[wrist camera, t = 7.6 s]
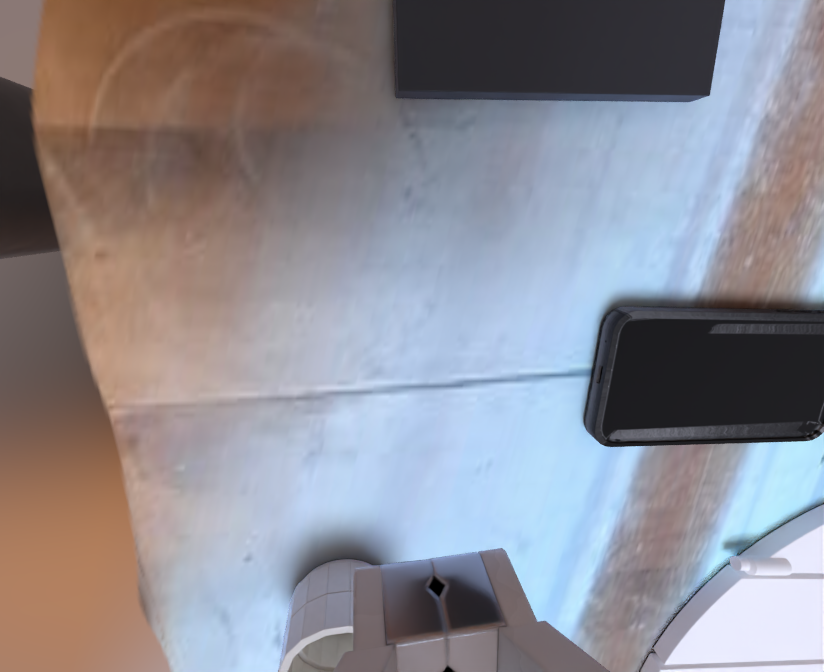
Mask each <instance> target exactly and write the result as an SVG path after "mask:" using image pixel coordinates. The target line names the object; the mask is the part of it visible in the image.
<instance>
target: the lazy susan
mask: <svg viewBox="0 0 824 672" xmlns="http://www.w3.org/2000/svg"><path fill="white" fill-rule="evenodd" d="M730 564H731V565H727V566H725V567H724V568H723V569H722V570H721V571H720V572H719V573H717V574H716V575H715V576H714V577H713V578H712V579H711V580H710V581H709V582H708V583H707V584H706V585H705V586H704V587H703V588H702V589H700V590H699V591H698V593H697V594H696V595H695V596H694V597H693V598H692V599H691V600H690V601H689V602H688V603H687V604H686V605H685V607H684V608H683V609H682V610H681V611H680V612H679V614H678V615H677V616H676V617H675V618H674V620H673V621H672V622H671V624H670V625H669V626H668V627H667V629H666V630H665V632H664V633H663V634H662V636H661V637H660V639H659V640H658V642H657V643H656V645H655V646H654V648H653V649H654V651H655V652H656V653H650V654H649V656H648V658H647V660H646V662H645V663H644V665H643V667H642V669H641V671H640V672H824V504H823V505H821V506H818V507H816V508H814V509H812V510H810V511H808V512H806V513H804V514H802V515H801V516H799V517H797V518H795V519H793V520H791V521H790V522H788V523H786V524H785V525H783V526H781V527H779V528H778V529H776V530H775V531H773V532H772V533H770V534H768V535H767V536H765V537H764V538H762V539H761V540H759V541H758V542H757V543H755V544H754V545H752V546H751V547H750V548H748V549H747V550H746V551H744V552H743V553H742V554H740V555H739V556H732V557H730Z"/></svg>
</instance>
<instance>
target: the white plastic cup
mask: <svg viewBox="0 0 824 672" xmlns="http://www.w3.org/2000/svg"><path fill="white" fill-rule="evenodd" d="M367 566H373V565H371V564H369V563H366V562H364V561H360V560H354V559H340V560H334V561H330V562H327V563H325V564H322V565H320V566H318V567H317V568H315V569H314V570H312V571H311V572H310V573H309V574H307V576H306V577H305V578H304V579H303V580H302V581H301V582H300V583H299V584H298V585H297V586H296V588H295V590H294V593H293V595H292V598H291V601H290V604H289V610H288V616H287V622H286V628H285V635H284V640H283V646H282V652H281V658H280V664H279V670H278V672H333V671H334V669H335V667H336V666H337V664H338V662H339V661H340V659H341V657H342V656H343V654H344V652H348V651H353V575H354V569H355V568H357V567H367ZM381 580H382V576H381ZM382 593H383V590H382ZM383 605H384V604H383Z"/></svg>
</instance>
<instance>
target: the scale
mask: <svg viewBox="0 0 824 672" xmlns="http://www.w3.org/2000/svg"><path fill="white" fill-rule="evenodd" d="M724 4H725V0H393V14H394V51H395V89H396V98H410V99H489V100H568V101H648V102H691V101H694V100H697V99H700V98H703V97H706V96H709V95H710V90H711V84H712V78H713V71H714V65H715V59H716V53H717V47H718V41H719V35H720V29H721V23H722V17H723V10H724Z"/></svg>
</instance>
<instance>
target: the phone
mask: <svg viewBox="0 0 824 672" xmlns="http://www.w3.org/2000/svg"><path fill="white" fill-rule="evenodd" d="M585 427H586V430H587V431H588V432H589V433H590V434H591V435H592V436H593V437H594V438H595V439H596V440H597V441H598V442H599V443H600V444H602V445H604V446H608V447H624V446H657V445H691V444H725V443H759V442H792V441H810V440H813V439H815V438H817V437H819V436H820V435H821V434H822V433H823V432H824V310H789V309H729V308H680V307H631V306H624V307H618V308H616V309H614V310H612V311H611V312H610V313H609V314H608V315H607V316H606V318H605V319H604V321H603V323H602V326H601V331H600V337H599V342H598V348H597V353H596V359H595V365H594V370H593V376H592V381H591V387H590V392H589V398H588V404H587V409H586V415H585Z"/></svg>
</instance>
